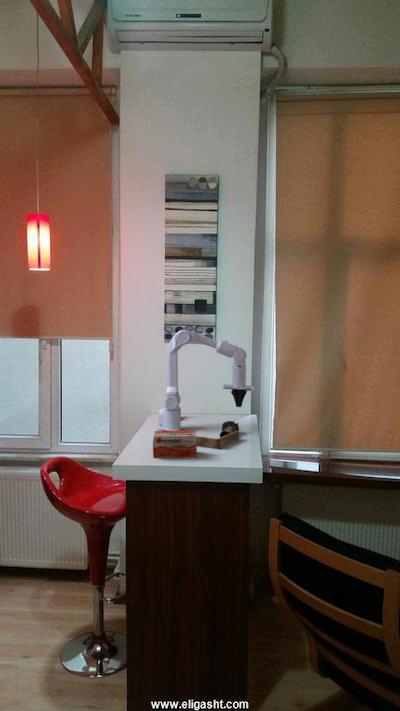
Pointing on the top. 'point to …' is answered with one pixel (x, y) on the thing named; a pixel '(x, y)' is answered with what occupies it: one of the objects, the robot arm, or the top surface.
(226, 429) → the brown rock
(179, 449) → the medicine box
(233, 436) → the corner fence
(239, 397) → the robot arm
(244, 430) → the top surface
